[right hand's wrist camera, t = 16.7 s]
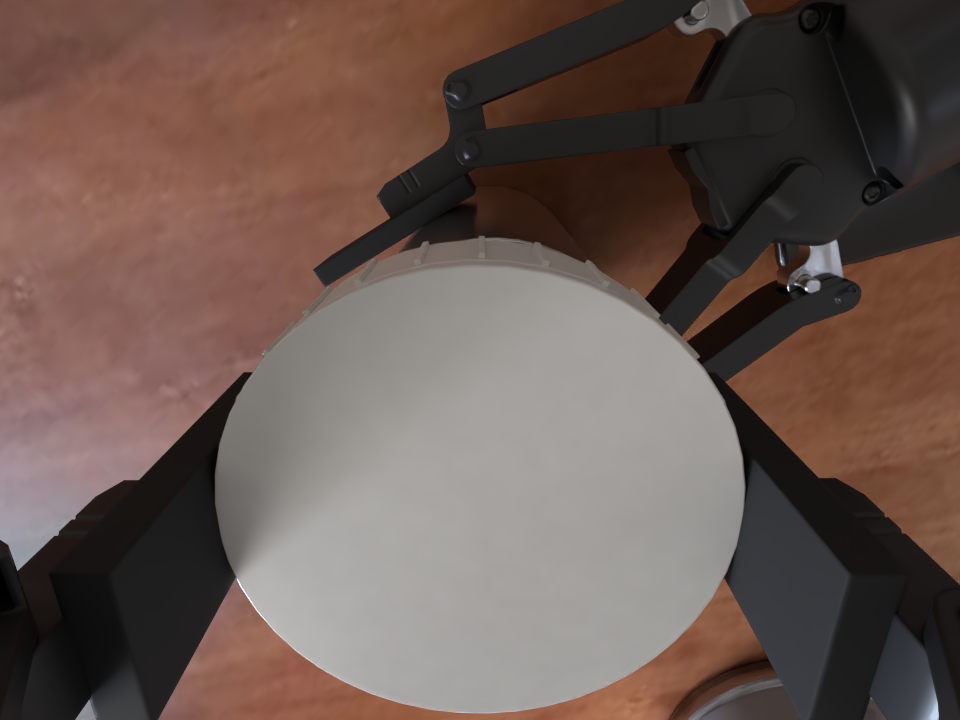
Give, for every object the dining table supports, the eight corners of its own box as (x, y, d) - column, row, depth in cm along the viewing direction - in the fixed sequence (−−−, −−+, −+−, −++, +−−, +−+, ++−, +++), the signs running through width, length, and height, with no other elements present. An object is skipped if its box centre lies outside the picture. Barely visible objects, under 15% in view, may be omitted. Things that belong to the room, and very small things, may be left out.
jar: (594, 317, 30) (706, 512, 15) (445, 370, 31) (403, 604, 16) (540, 158, 27) (610, 193, 12) (380, 223, 29) (253, 332, 13)
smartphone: (1143, -1, 25) (756, 111, 26) (1166, -6, 24) (765, 111, 26) (1123, 188, 27) (773, 279, 29) (1143, 190, 27) (782, 284, 28)
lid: (279, 181, 10) (229, 193, 8) (777, 296, 11) (845, 333, 9) (237, 592, 14) (194, 674, 12) (624, 659, 14) (648, 748, 12)
